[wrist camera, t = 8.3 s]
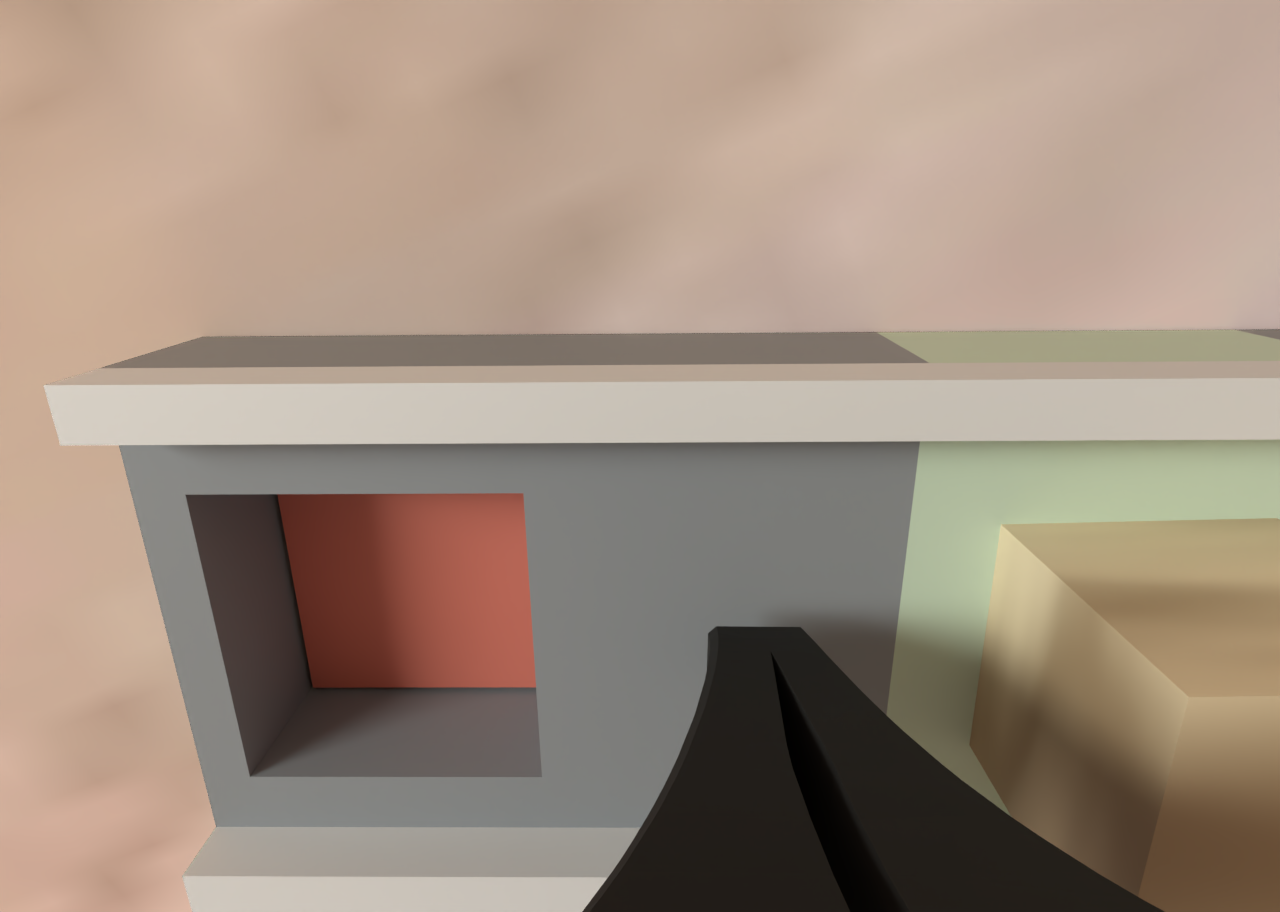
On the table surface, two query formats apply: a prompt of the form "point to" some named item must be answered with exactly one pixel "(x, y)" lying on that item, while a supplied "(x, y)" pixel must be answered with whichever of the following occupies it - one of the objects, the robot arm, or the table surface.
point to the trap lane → (601, 562)
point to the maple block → (1141, 702)
